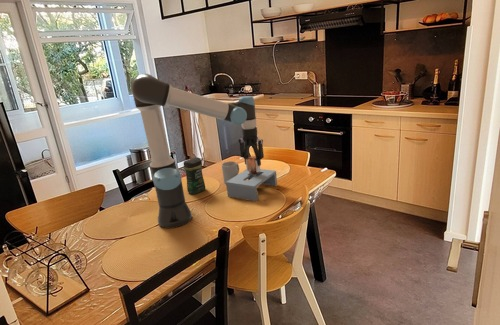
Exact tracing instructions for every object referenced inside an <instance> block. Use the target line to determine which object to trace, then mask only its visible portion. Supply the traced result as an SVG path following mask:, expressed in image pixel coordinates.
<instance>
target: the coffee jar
mask: <svg viewBox="0 0 500 325" xmlns="http://www.w3.org/2000/svg"><path fill="white" fill-rule="evenodd" d="M202 168H203V162H202V159H201V158H200V157H197V156H195V157H193V158H190V159H186V160H184V161H183V169H184V171H185V175H186V189H187V192H188V193H189V194H194V195H195V194H199V193H201V192H203V191H205V190H206V184H205V179H204V175H203V171H202V170H203V169H202Z"/></svg>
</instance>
